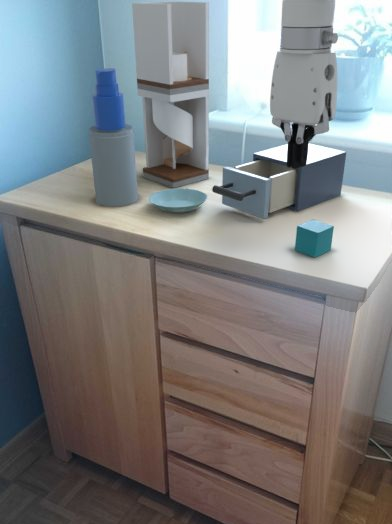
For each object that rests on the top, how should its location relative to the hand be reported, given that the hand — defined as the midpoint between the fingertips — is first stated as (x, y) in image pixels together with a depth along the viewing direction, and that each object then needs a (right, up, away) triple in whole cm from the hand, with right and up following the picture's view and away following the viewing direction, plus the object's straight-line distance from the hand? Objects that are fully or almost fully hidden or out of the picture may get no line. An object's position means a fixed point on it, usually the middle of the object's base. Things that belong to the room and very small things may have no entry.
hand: (296, 166), depth 93 cm
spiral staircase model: (-21, +10, +39) cm, 46 cm away
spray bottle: (-33, +1, +27) cm, 43 cm away
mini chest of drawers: (+5, +3, +27) cm, 28 cm away
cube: (+3, -13, +4) cm, 14 cm away
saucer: (-20, -2, +22) cm, 30 cm away
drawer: (-4, -1, +20) cm, 20 cm away
